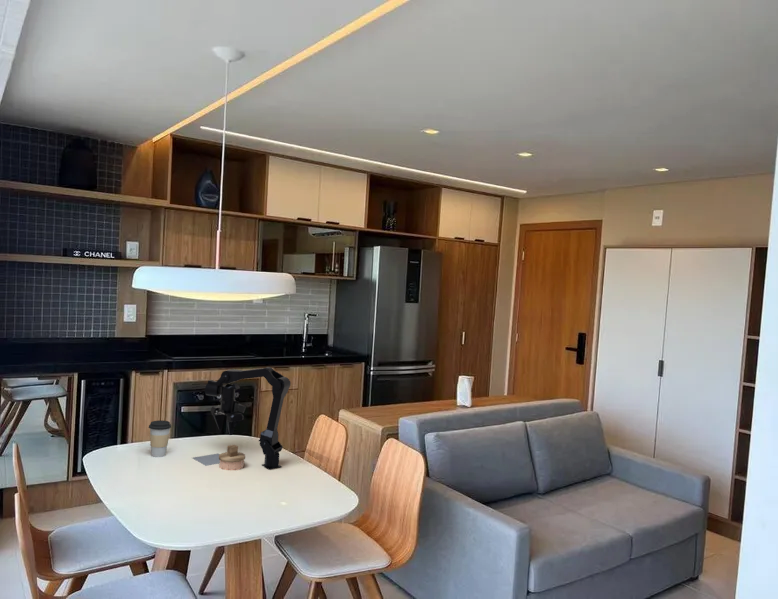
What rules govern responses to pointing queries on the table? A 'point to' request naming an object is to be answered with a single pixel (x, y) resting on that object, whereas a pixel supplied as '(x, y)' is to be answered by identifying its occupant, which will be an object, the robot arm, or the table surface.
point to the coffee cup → (159, 437)
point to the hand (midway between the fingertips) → (225, 432)
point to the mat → (208, 459)
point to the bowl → (231, 465)
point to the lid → (232, 455)
